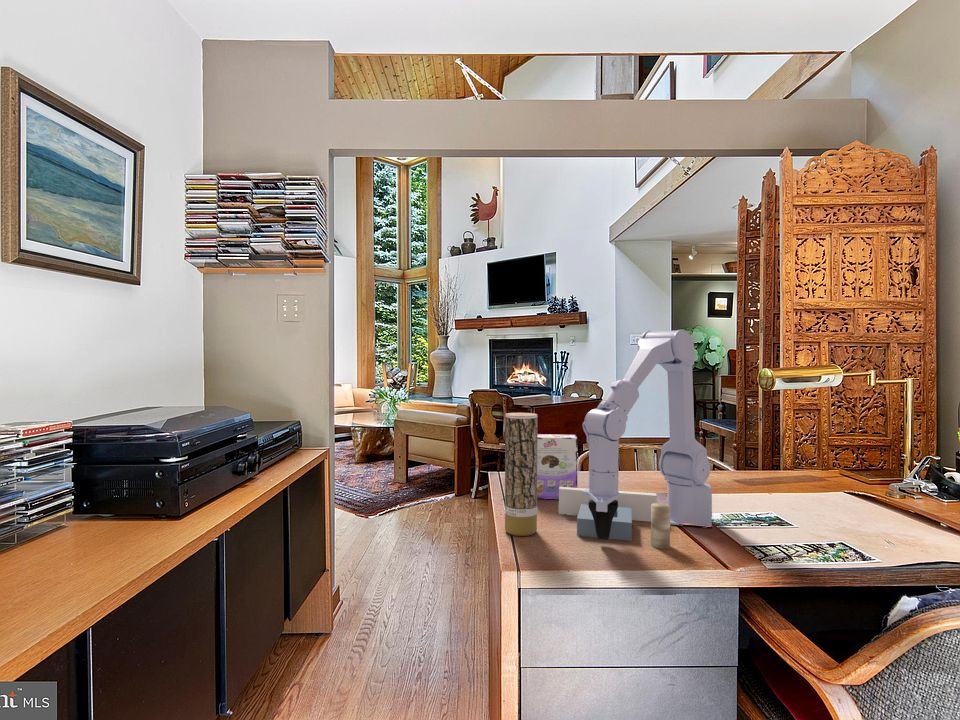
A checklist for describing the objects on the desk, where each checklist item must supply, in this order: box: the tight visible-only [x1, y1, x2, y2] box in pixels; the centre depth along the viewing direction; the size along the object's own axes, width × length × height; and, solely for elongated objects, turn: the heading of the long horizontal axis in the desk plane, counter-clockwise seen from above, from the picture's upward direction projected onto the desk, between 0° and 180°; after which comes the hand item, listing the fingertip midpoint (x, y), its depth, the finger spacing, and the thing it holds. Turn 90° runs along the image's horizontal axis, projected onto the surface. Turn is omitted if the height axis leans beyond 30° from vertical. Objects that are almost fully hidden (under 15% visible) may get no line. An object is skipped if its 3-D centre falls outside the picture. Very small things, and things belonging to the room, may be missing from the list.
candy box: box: [537, 433, 578, 500], centre depth 143 cm, size 14×6×16 cm, turn 84°
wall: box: [558, 487, 658, 523], centre depth 126 cm, size 22×2×6 cm, turn 75°
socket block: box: [576, 504, 633, 542], centre depth 117 cm, size 11×11×4 cm
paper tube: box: [504, 412, 539, 537], centre depth 115 cm, size 7×7×25 cm
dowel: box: [650, 502, 671, 550], centre depth 107 cm, size 4×4×8 cm
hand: (603, 538), depth 107 cm, fingers closed
